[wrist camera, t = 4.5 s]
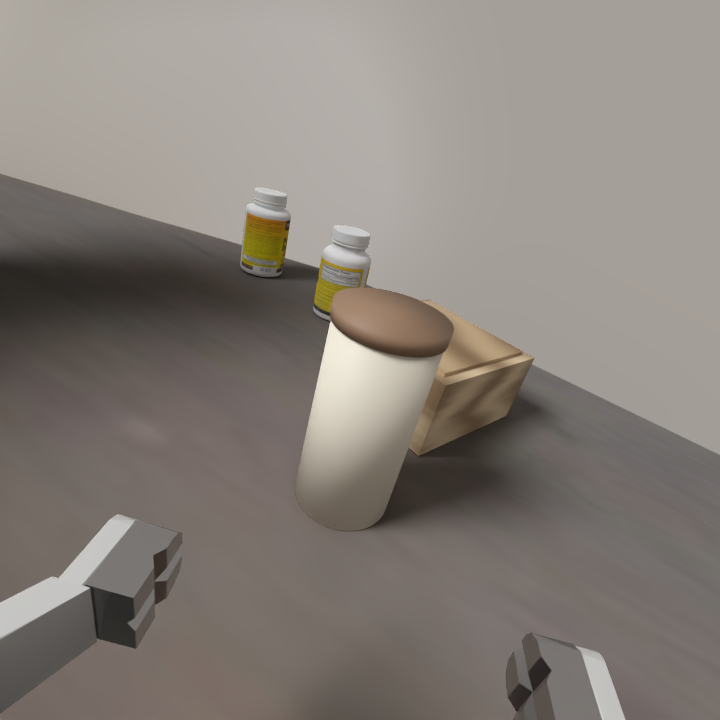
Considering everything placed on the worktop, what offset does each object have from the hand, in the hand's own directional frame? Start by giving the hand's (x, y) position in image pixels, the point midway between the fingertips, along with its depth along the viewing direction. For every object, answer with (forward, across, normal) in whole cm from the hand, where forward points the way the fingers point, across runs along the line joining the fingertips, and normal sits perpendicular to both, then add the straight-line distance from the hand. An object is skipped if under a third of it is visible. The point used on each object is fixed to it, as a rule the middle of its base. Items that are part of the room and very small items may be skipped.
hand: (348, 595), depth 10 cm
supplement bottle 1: (+47, -18, -10) cm, 51 cm away
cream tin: (+12, -1, -9) cm, 16 cm away
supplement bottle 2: (+39, -6, -10) cm, 41 cm away
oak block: (+26, +4, -10) cm, 28 cm away
